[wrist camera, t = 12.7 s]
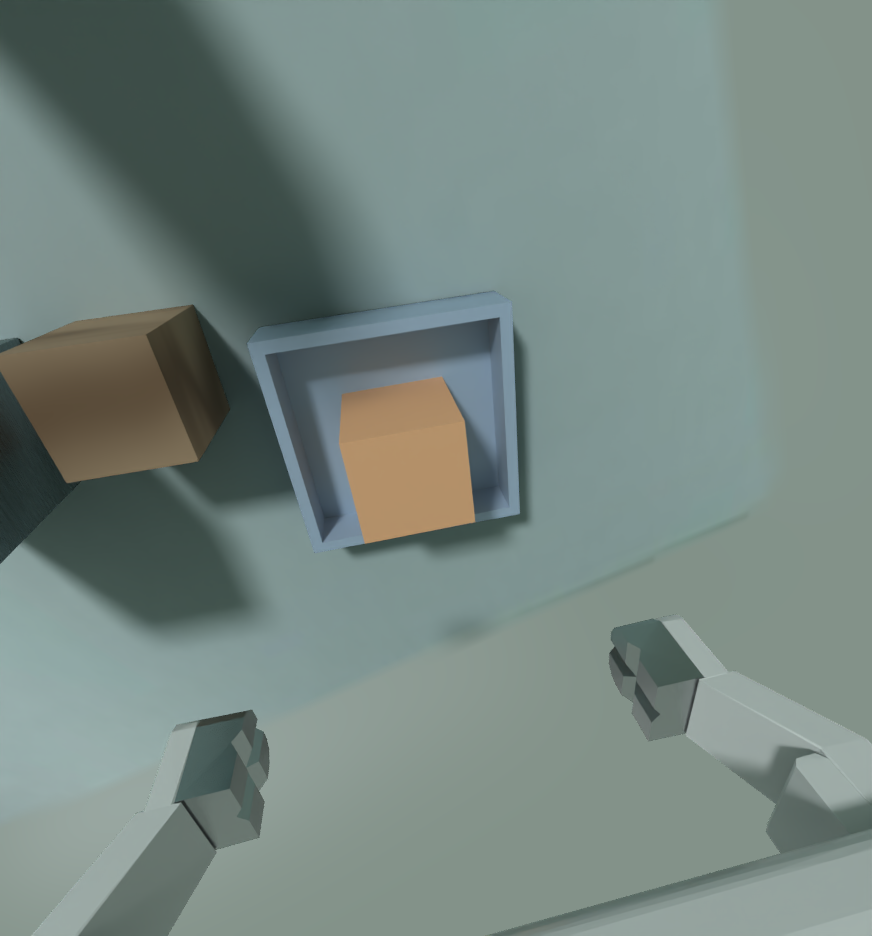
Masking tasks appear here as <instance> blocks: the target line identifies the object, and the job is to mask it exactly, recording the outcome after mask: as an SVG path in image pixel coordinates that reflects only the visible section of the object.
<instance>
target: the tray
mask: <svg viewBox="0 0 872 936" xmlns="http://www.w3.org/2000/svg"><path fill="white" fill-rule="evenodd" d="M247 346H248V349H249V352H250V355H251V358H252V361H253V364H254V368H255V371H256V374H257V377H258V380H259V383H260V386H261V389H262V392H263V395H264V399H265V402H266V405H267V408H268V411H269V414H270V417H271V420H272V423H273V426H274V430H275V433H276V436H277V439H278V442H279V445H280V448H281V451H282V454H283V457H284V460H285V464H286V467H287V470H288V473H289V476H290V479H291V482H292V485H293V488H294V491H295V495H296V498H297V501H298V504H299V507H300V510H301V513H302V516H303V519H304V522H305V525H306V529H307V532H308V535H309V538H310V541H311V544H312V547H313V550H314V553H318V552H323V551H328V550H334V549H339V548H344V547H349V546H355V545H360V544H365V543H364V539H363V535H362V531H361V527H360V523H359V519H358V516H357V512H356V508H355V504H354V500H353V496H352V492H351V489H350V485H349V481H348V477H347V473H346V469H345V465H344V462H343V458H342V454H341V450H340V446H339V434H340V417H341V400H342V394H344V393H350V392H356V391H361V390H367V389H373V388H379V387H384V386H390V385H396V384H402V383H407V382H413V381H419V380H425V379H430V378H436V377H443V379H444V381H445V383H446V385H447V387H448V389H449V391H450V393H451V395H452V397H453V399H454V401H455V403H456V405H457V407H458V409H459V411H460V413H461V415H462V417H463V419H464V421H465V428H466V438H467V447H468V457H469V466H470V476H471V485H472V495H473V504H474V514H475V522H480V521H486V520H491V519H496V518H501V517H507V516H512V515H517V514H520V505H519V478H518V451H517V424H516V396H515V369H514V342H513V315H512V301H510V300H508V299H507V298H505V297H504V296H502V295H500V294H499V293H497V292H496V291H490V292H483V293H477V294H471V295H464V296H458V297H451V298H445V299H438V300H432V301H426V302H419V303H413V304H406V305H400V306H393V307H387V308H380V309H374V310H368V311H361V312H355V313H348V314H342V315H335V316H329V317H322V318H316V319H310V320H303V321H297V322H290V323H284V324H277V325H271V326H264V327H259V328H258V329H257V331H256V332H255V333H254V335H253V336H252V337H251V339H250V340H249V341H248V343H247ZM475 522H473V523H475ZM468 524H470V523H468ZM463 525H465V524H463ZM458 526H460V525H458ZM453 527H454V526H453ZM448 528H449V527H448ZM443 529H444V528H443ZM437 530H439V529H437ZM432 531H433V530H432ZM427 532H428V531H427ZM422 533H423V532H422ZM417 534H418V533H417Z"/></svg>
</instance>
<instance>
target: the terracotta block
mask: <svg viewBox="0 0 872 936" xmlns="http://www.w3.org/2000/svg"><path fill="white" fill-rule="evenodd" d="M339 446H340V450H341V454H342V458H343V462H344V465H345V469H346V473H347V477H348V481H349V485H350V489H351V492H352V496H353V500H354V504H355V508H356V512H357V516H358V519H359V523H360V527H361V531H362V535H363V539H364V543H365V544H366V543H371V542H376V541H382V540H387V539H392V538H397V537H402V536H407V535H412V534H417V533H422V532H427V531H432V530H437V529H443V528H448V527H453V526H458V525H463V524H468V523H473V522H475V514H474V504H473V495H472V485H471V476H470V466H469V457H468V447H467V438H466V428H465V421H464V419H463V417H462V415H461V413H460V411H459V409H458V407H457V405H456V403H455V401H454V399H453V397H452V395H451V393H450V391H449V389H448V387H447V385H446V383H445V381H444V379H443V377H436V378H430V379H425V380H419V381H413V382H407V383H402V384H396V385H390V386H384V387H379V388H373V389H367V390H361V391H356V392H350V393H344V394H342V400H341V417H340V434H339Z"/></svg>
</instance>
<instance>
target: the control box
mask: <svg viewBox="0 0 872 936" xmlns="http://www.w3.org/2000/svg"><path fill="white" fill-rule="evenodd" d="M18 345H21V343H20V341H19V339H18V338H12V339H6V340H0V353H2V352H4V351H7V350H9V349H11V348H14V347H16V346H18ZM80 482H81V481H77V482H71V483H66V481H65V479H64V478H63V476H62V474H61V473H60V471H59V469H58V468H57V466H56V464H55V463H54V461H53V459H52V458H51V456H50V454H49V453H48V451H47V449H46V448H45V446H44V444H43V442H42V441H41V439H40V437H39V436H38V434H37V432H36V431H35V429H34V427H33V426H32V424H31V422H30V421H29V419H28V417H27V416H26V414H25V412H24V410H23V409H22V407H21V405H20V404H19V402H18V400H17V399H16V397H15V395H14V394H13V392H12V390H11V389H10V387H9V385H8V384H7V382H6V380H5V378H4V377H3V375H2V373H1V372H0V564H1V563H2V562H3V561H4V560H5V558H6V557H7V556H8V555H9V554H10V553H11V552H12V551H13V550H14V549H15V548H16V547H17V546H18V545H19V544H20V543H21V542H22V541H23V540H24V539H25V538H26V537H27V536H28V535H29V534H30V533H31V532H32V531H33V530H34V529H35V528H36V527H37V526H38V525H39V524H40V523H41V522H42V521H43V520H44V519H45V518H46V517H47V515H48V514H49V513H50V512H51V511H52V510H53V509H54V508H55V507H56V506H57V505H58V504H59V503H60V502H61V501H62V500H63V499H64V498H65V497H66V496H67V495H68V494H69V493H70V492H71V491H72V490H73V489H74V488H75V487H76V486H77V485H78V484H79V483H80Z"/></svg>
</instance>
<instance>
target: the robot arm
mask: <svg viewBox="0 0 872 936" xmlns="http://www.w3.org/2000/svg"><path fill="white" fill-rule="evenodd" d="M611 641H612V642H613V644H614V646H615V647H614V648H613V649H612V650H611V652H610V653H609V665H610V670H611V674H612V677H613V679H614V682H615V684H616V686H617V688H618V690H619V691H620V693H621V695H622V696H624V697H626V698H627V699H629V700H630V701H632V702H633V708H632V714H633V716H634V717H635V719H636V721H637V723H638V724H639V726H640V728H641V730H642V731H643V733H644V735H645V736H646V738H647V740H648V741H652V740H657V739H661V738H666V737H671V736H676V735H680V734H685V733H686V736H687V737H688V738H690V739H691V740H692V741H694V742H695V743H696V744H697V745H699V746H700V747H701V748H703V749H704V750H705V751H707V752H708V753H709V754H711V755H712V756H713V757H715V758H716V759H717V760H719V761H720V762H721V763H722V764H724V765H725V766H726V767H728V768H729V769H731V770H732V771H733V772H734V773H736V774H737V775H738V776H740V777H741V778H742V779H744V780H745V781H746V782H748V783H749V784H750V785H752V786H753V787H754V788H756V789H757V790H758V791H760V792H761V793H762V794H763V795H765V796H766V797H767V798H769V799H770V800H771V801H773V802H774V803H775V804H776V805H775V808H774V810H773V812H772V814H771V817H770V819H769V821H768V824H767V829H766V832H767V834H768V836H769V837H770V839H771V840H772V842H773V843H774V845H775V846H776V847H777V849H778V850H779V852H780V853H781V854H777V855H774V856H770V857H767V858H763V859H760V860H756V861H752V862H749V863H745V864H741V865H738V866H734V867H731V868H727V869H723V870H720V871H716V872H713V873H709V874H706V875H702V876H698V877H695V878H691V879H688V880H684V881H681V882H677V883H673V884H670V885H666V886H663V887H659V888H655V889H652V890H648V891H644V892H641V893H638V894H634V895H630V896H626V897H623V898H619V899H616V900H612V901H608V902H605V903H601V904H598V905H594V906H591V907H587V908H583V909H580V910H576V911H573V912H569V913H565V914H562V915H558V916H555V917H551V918H547V919H544V920H540V921H537V922H533V923H530V924H526V925H523V926H519V927H515V928H512V929H508V930H504V931H501V932H497V933H494V934H490V935H487V936H872V744H871V743H870V742H869V741H868V740H867V739H866V738H864V737H862V736H860V735H858V734H856V733H854V732H852V731H850V730H849V729H847V728H845V727H843V726H841V725H839V724H837V723H835V722H833V721H831V720H829V719H827V718H825V717H823V716H822V715H819V714H818V713H815V712H814V711H812V710H810V709H808V708H806V707H804V706H802V705H800V704H798V703H796V702H794V701H792V700H790V699H789V698H786V697H785V696H783V695H781V694H779V693H777V692H775V691H773V690H771V689H769V688H767V687H765V686H763V685H761V684H759V683H758V682H756V681H754V680H752V679H750V678H748V677H746V676H744V675H742V674H740V673H738V672H736V671H731V672H728V671H727V670H726V668H725V667H724V666H723V665H722V664H721V662H720V661H719V660H718V659H717V658H716V657H715V655H714V654H713V653H712V652H711V651H710V650H709V648H708V647H707V646H706V645H705V644H704V643H703V641H702V640H701V639H700V638H699V637H698V636H697V634H696V633H695V632H694V631H693V630H692V628H691V627H690V626H689V625H688V624H687V623H686V621H685V620H684V619H683V618H682V617H681V616H679V615H677V614H675V615H669V616H665V617H661V618H656V619H650V620H645V621H641V622H637V623H633V624H629V625H624V626H620V627H616V628H614V629H613V631H612V632H611ZM256 723H257V718H256V716H255V714H254V712H253V710H248V711H243V712H238V713H233V714H228V715H223V716H218V717H213V718H208V719H202V720H198V721H193V722H188V723H184V724H179V725H176V727H175V728H174V729H173V731H172V732H171V734H170V736H169V739H168V742H167V745H166V748H165V751H164V754H163V757H162V760H161V763H160V765H159V768H158V772H157V774H156V777H155V780H154V783H153V786H152V789H151V792H150V795H149V798H148V801H147V803H146V806H145V809H144V811H141V812H138V813H136V814H135V815H134V816H133V817H132V818H131V820H130V821H129V822H128V823H127V824H126V826H125V827H124V828H123V829H122V830H121V831H120V833H119V834H118V835H117V836H116V837H115V838H114V839H113V841H112V842H111V843H110V844H109V845H108V846H107V848H106V849H105V850H104V851H103V852H102V853H101V855H100V856H99V857H98V858H97V859H96V861H95V862H94V863H93V864H92V865H91V866H90V868H89V869H88V870H87V871H86V872H85V873H84V875H83V876H82V877H81V878H80V879H79V880H78V882H77V883H76V884H75V885H74V886H73V888H72V889H71V890H70V891H69V892H68V893H67V894H66V896H65V897H64V898H63V899H62V900H61V901H60V903H59V904H58V905H57V906H56V907H55V908H54V910H53V911H52V912H51V913H50V914H49V916H48V917H47V918H46V919H45V920H44V921H43V922H42V924H41V925H40V926H39V927H38V928H37V930H36V931H35V932H34V933H33V934H32V935H31V936H168V934H169V932H170V931H171V929H172V927H173V926H174V924H175V922H176V920H177V919H178V917H179V915H180V914H181V912H182V910H183V909H184V907H185V905H186V904H187V902H188V900H189V898H190V897H191V895H192V893H193V892H194V890H195V888H196V887H197V885H198V883H199V881H200V880H201V878H202V876H203V875H204V873H205V871H206V869H207V868H208V866H209V865H210V863H211V861H212V859H213V858H214V856H215V854H216V851H215V850H217V849H221V848H224V847H228V846H231V845H235V844H238V843H242V842H245V841H249V840H253V839H257V838H259V835H260V829H261V822H262V814H263V808H264V800H263V798H262V796H261V794H260V792H259V790H260V789H261V787H262V786H263V785H264V783H265V781H266V780H267V779H268V772H269V771H268V770H269V747H268V743H267V738H266V736H265V734H264V732H263V731H261V730H259V729H257V728H256Z"/></svg>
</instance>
